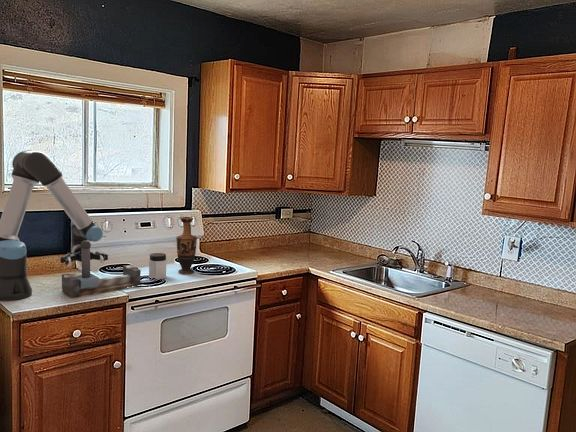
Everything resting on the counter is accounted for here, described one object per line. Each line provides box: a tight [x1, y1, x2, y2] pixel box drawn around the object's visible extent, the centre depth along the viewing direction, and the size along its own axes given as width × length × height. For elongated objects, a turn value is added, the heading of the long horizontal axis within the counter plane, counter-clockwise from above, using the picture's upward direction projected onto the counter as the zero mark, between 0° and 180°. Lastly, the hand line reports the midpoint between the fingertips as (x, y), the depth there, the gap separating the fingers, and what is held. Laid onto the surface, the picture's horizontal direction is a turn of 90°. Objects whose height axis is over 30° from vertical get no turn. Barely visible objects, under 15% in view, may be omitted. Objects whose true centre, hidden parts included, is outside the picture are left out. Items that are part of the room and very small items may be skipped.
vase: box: [176, 216, 198, 275], centre depth 261 cm, size 11×11×30 cm
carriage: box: [76, 240, 100, 289], centre depth 221 cm, size 8×9×21 cm
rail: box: [61, 264, 141, 299], centre depth 227 cm, size 34×12×9 cm, turn 134°
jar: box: [148, 252, 167, 280], centre depth 250 cm, size 9×8×12 cm
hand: (86, 262), depth 219 cm, fingers open, 13 cm apart
